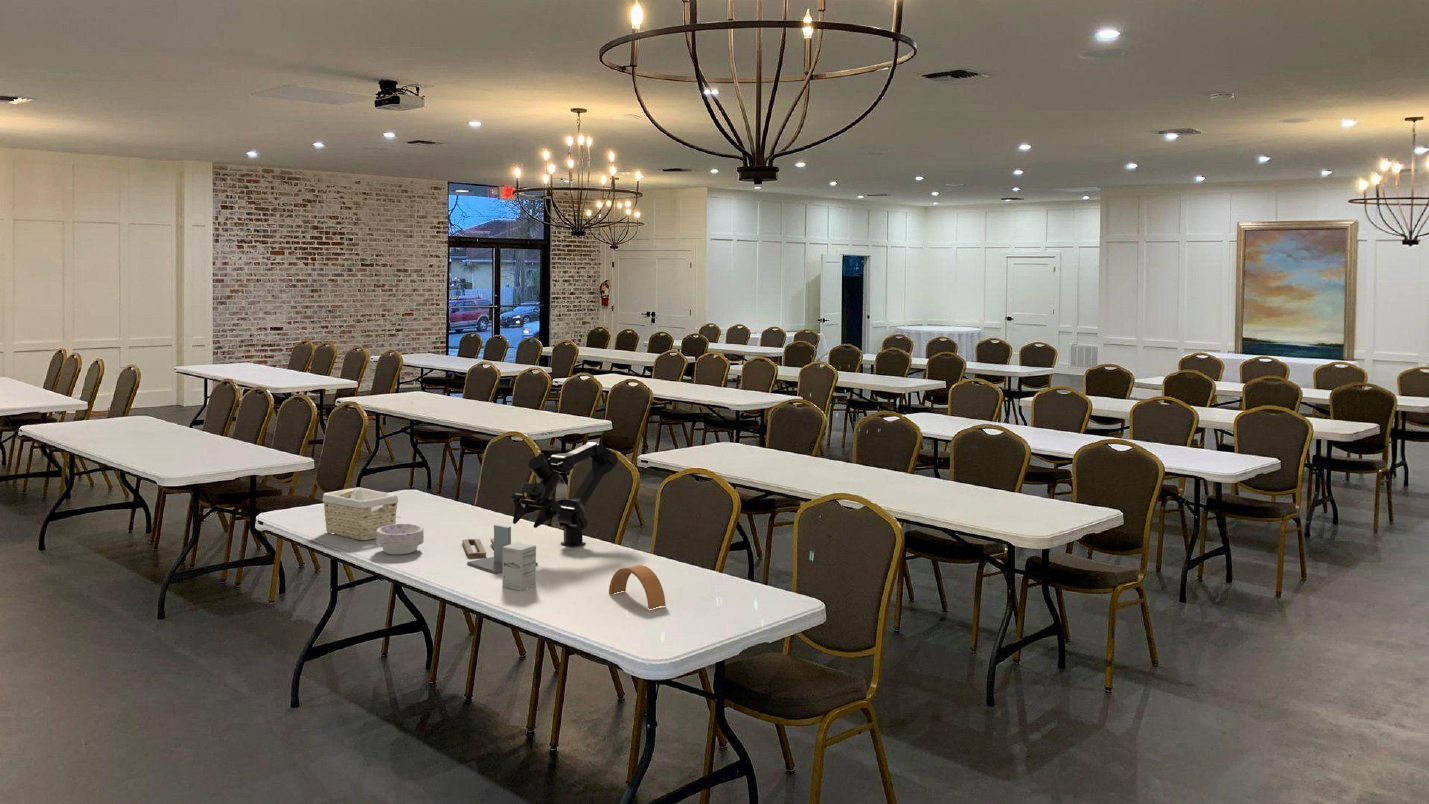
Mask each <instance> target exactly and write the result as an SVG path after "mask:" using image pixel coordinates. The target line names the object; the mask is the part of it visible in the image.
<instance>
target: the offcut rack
mask: <svg viewBox="0 0 1429 804" xmlns="http://www.w3.org/2000/svg"><path fill="white" fill-rule="evenodd" d="M461 540H462V542H461V543H462V545H463V549H464V551H465V553H466V556H467V559H474V558H477V557H478V558H487V552H486V549H485V547H484V545H483V544H482V541H481V540H480V538H470V539H469V538H468V539H467V538H466V539H461ZM490 543H492V544H491V545H493V546H492V547H493V548H494V537H493V538H492V537H491V538H490ZM471 545H474V546H475V549H476V550H477V552H476V551H475V552H474V550H473V548H472V546H471ZM478 558H477V559H478Z"/></svg>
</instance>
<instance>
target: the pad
mask: <svg viewBox="0 0 1429 804" xmlns="http://www.w3.org/2000/svg"><path fill="white" fill-rule="evenodd" d="M466 564H467V565H469V566H470V565H471V566H470V567H474V568H476V569H479V568H480V570H482V571H486V572H488V571H490V572H489V573H491V572H492V574H495V575H499V574H503V563H499V562H494V556H490V557H483V558H479V559H476V560H470V561H467V562H466ZM536 565H537V566H538V565H539V562H537V561H536Z"/></svg>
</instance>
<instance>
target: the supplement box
mask: <svg viewBox="0 0 1429 804" xmlns="http://www.w3.org/2000/svg"><path fill="white" fill-rule="evenodd" d="M536 562H537V545H536V544H530V543H529V544H528V543H522V542H513V543H511V544H510V545H507V546H504V547H503V573H502V578H501V579H502V587H501V588H505V589H510V588H511V590H516V591H520V592H523V591H525V589H526V590H528V589H531V588H533V587H535V586H536V583H537V582H536V581H537V579H536V577H537V566H536ZM534 585H535V586H534ZM532 586H533V587H532ZM527 588H528V589H527Z"/></svg>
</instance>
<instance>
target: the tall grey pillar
mask: <svg viewBox="0 0 1429 804" xmlns="http://www.w3.org/2000/svg"><path fill="white" fill-rule="evenodd" d="M493 538H494V547H493V557H494V562H499V563H503V547H504V546H507V545H510V544H512V527H511V526H509V525H503V524H494V525H493Z"/></svg>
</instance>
